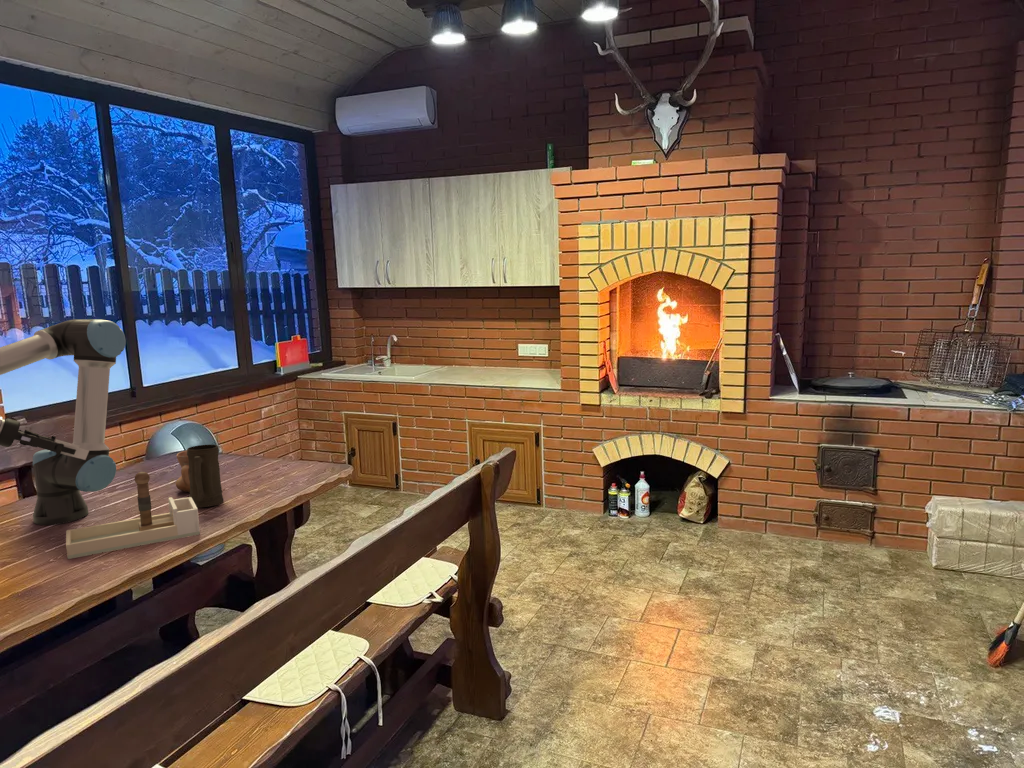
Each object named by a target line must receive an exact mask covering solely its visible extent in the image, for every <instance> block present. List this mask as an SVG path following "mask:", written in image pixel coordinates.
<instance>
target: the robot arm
mask: <svg viewBox="0 0 1024 768" xmlns="http://www.w3.org/2000/svg"><path fill="white" fill-rule="evenodd" d="M126 340H127V339H126V335H125V332H124V331H123V329H122V328H121V327H120V326H119V325H118V324H117V323H116V322H114V321H111V320H106V319H99V318H98V319H97V318H96V319H77V318H76V319H69V320H65V321H62V322H58V323H56V324H53V325H51V326H48V327H45V328H43V329H39V330H36V331H35V332H34V334H33V335H32V336H29V337H27V338H26V337H25V338H24V339H20V340H18V341H17V340H16V341H15V342H12V343H9V344H6V345H3V346H0V376H2V375H5V374H7V373H10V372H13V371H16V370H18V369H21V368H23V367H26V366H28V365H31V364H33V363H36V362H39V361H42V360H45V359H46V360H54V359H56V358H59V357H67V356H73V362H74V363H75V364H76V365H77V366H78V373H77V386H76V397H75V398H76V399H75V411H74V412H75V414H74V423H73V424H74V425H73V426H74V427H73V436H72V443H70V442H68V441H67V442H66V441H65V440H60V439H57V436H54V435H51V437H50V436H45V435H40V434H39V433H36V432H33V431H31V430H28V429H24V431H23V430H22V429H20V426H21V422H20V421H19V420H16V419H11V418H8V417H7V418H3V416H1V415H0V446H1V447H5V448H10V447H12V445H13V443H14V441H19V442H18V443H19V444H21V445H23V446H29V447H33V448H40V449H41V450H39V451H36V452H35V453H34V454H33V455H32V467H33V474H34V483H35V489H36V497H37V498H36V501H35V505H34V510H33V513H32V520H33V523H34V524H36V525H41V526H51V525H53V526H54V525H60V524H61V525H62V524H66V523H70V522H74V521H77V519H78V520H80V519H83V518H84V516H85V517H86V516H87V515H88V514H89V508H88V504H87V503H86V501H85V498H84V496H82V494H81V492H84V493H87V492H88V493H89V492H91V493H92V492H93V493H95V492H100V491H102V490H105V489H106V488H108V486H109V485H110V484H111V483H112V482H113V480H114V479H115V476H116V474H117V464H116V461H114V458H112V457H111V456H110V447H109V446H108V445H107V444H106V443H105V442H106V441H105V440H106V439H105V438H106V427H107V425H106V424H107V414H108V413H107V412H108V399H109V388H110V387H109V386H110V372H111V368H113V366H114V365H116V363H117V357H119V356H120V355H121V354H122V352H124V350H125V349H126V343H127V341H126ZM80 491H81V492H80ZM82 517H83V518H82Z"/></svg>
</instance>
